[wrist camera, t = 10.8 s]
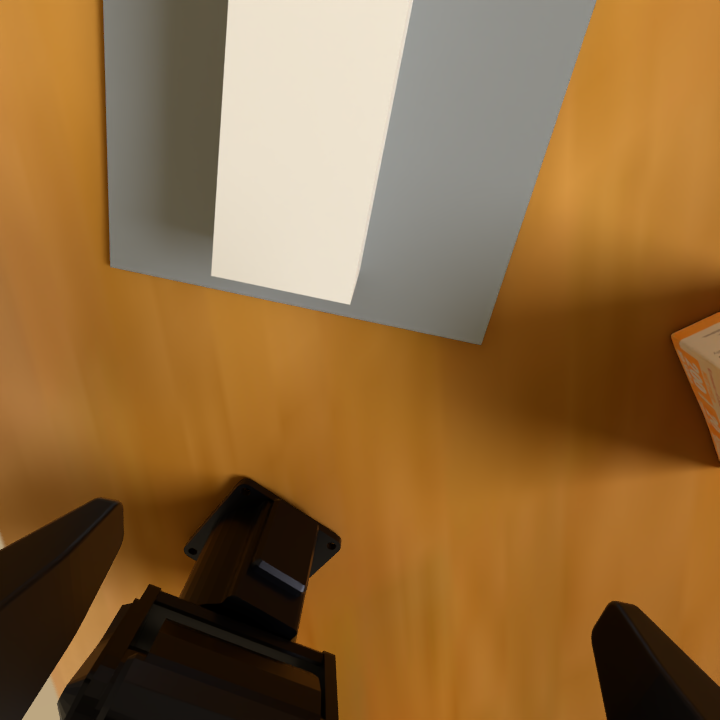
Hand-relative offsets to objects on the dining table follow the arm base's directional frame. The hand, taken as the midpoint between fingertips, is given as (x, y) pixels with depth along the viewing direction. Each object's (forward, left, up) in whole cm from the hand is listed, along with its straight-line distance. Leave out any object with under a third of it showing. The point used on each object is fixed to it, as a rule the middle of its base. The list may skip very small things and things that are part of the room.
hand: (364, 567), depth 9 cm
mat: (+6, +7, -13) cm, 16 cm away
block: (0, +4, -10) cm, 11 cm away
